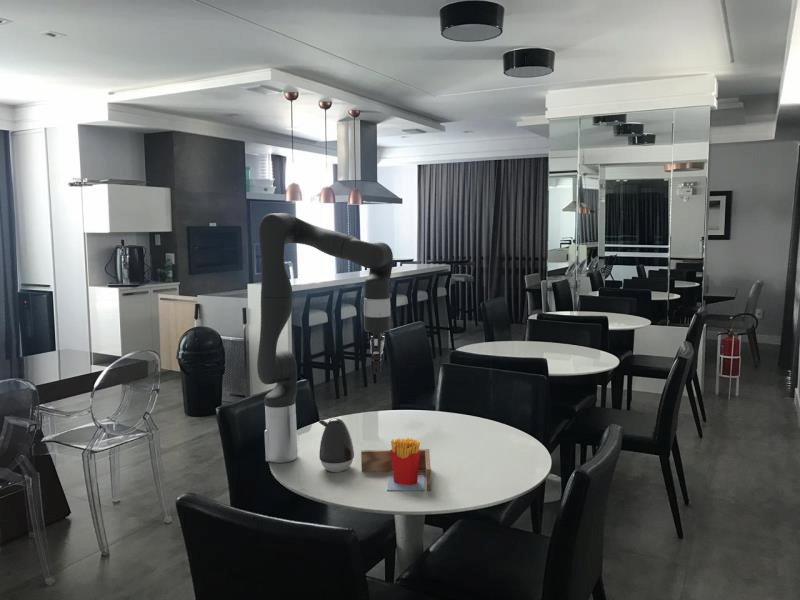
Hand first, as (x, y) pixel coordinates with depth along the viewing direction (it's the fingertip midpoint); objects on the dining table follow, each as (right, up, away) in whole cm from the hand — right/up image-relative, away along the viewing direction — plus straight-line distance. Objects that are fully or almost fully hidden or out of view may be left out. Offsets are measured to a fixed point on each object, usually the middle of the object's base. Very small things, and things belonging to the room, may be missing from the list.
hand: (377, 370), depth 188 cm
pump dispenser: (-12, -30, +6) cm, 33 cm away
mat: (+8, -31, -6) cm, 32 cm away
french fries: (+8, -30, -6) cm, 32 cm away
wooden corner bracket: (+5, -30, -4) cm, 31 cm away
